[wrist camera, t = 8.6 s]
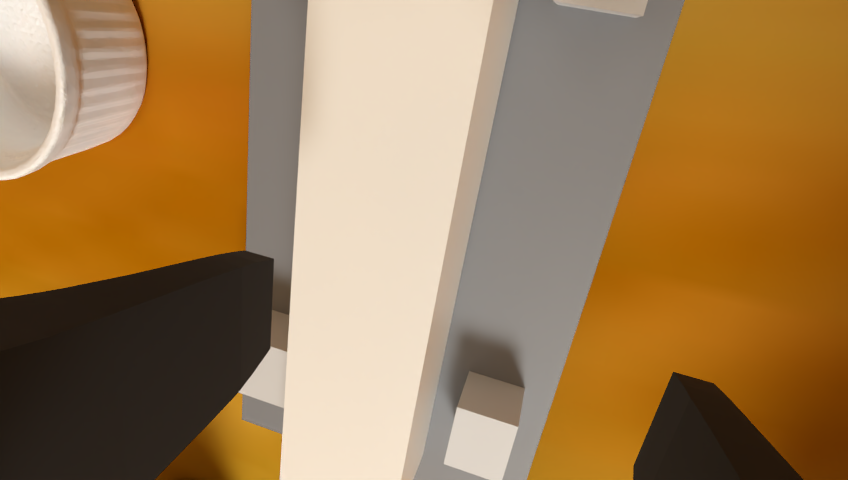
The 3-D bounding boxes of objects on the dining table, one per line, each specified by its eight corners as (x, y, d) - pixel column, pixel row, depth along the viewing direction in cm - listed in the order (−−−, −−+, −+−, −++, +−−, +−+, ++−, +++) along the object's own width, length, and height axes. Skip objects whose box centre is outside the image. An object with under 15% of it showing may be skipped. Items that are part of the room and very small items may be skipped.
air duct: (424, 452, 21) (389, 544, 17) (329, 420, 21) (276, 500, 18) (567, -220, 12) (559, -327, 8) (398, -234, 13) (323, -338, 9)
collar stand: (518, 487, 22) (507, 563, 19) (261, 398, 24) (212, 452, 21) (758, -253, 12) (817, -351, 9) (289, -285, 14) (207, -372, 11)
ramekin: (-28, 94, 23) (-154, 107, 19) (-22, -136, 19) (-181, -179, 15) (144, 191, 22) (49, 226, 18) (187, -27, 18) (77, -43, 14)
